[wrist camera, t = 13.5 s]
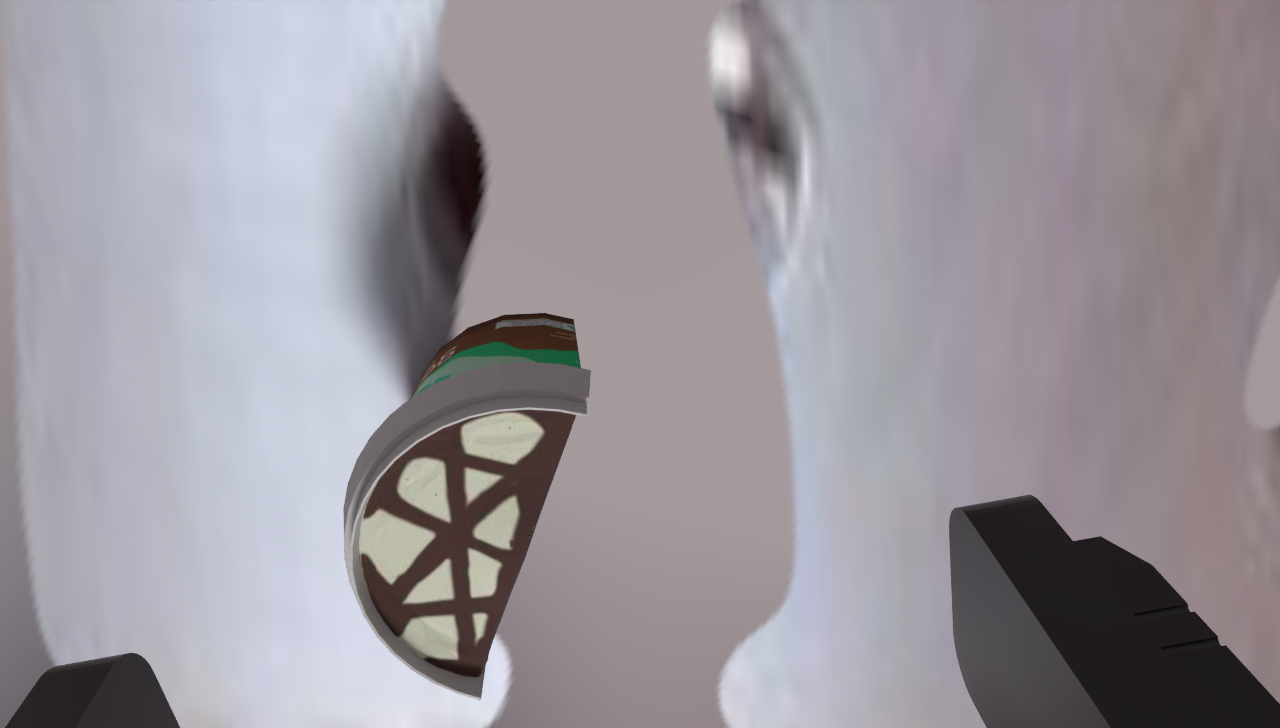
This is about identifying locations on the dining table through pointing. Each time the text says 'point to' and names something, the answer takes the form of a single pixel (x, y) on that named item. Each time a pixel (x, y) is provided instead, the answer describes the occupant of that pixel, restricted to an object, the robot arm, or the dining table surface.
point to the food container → (461, 492)
